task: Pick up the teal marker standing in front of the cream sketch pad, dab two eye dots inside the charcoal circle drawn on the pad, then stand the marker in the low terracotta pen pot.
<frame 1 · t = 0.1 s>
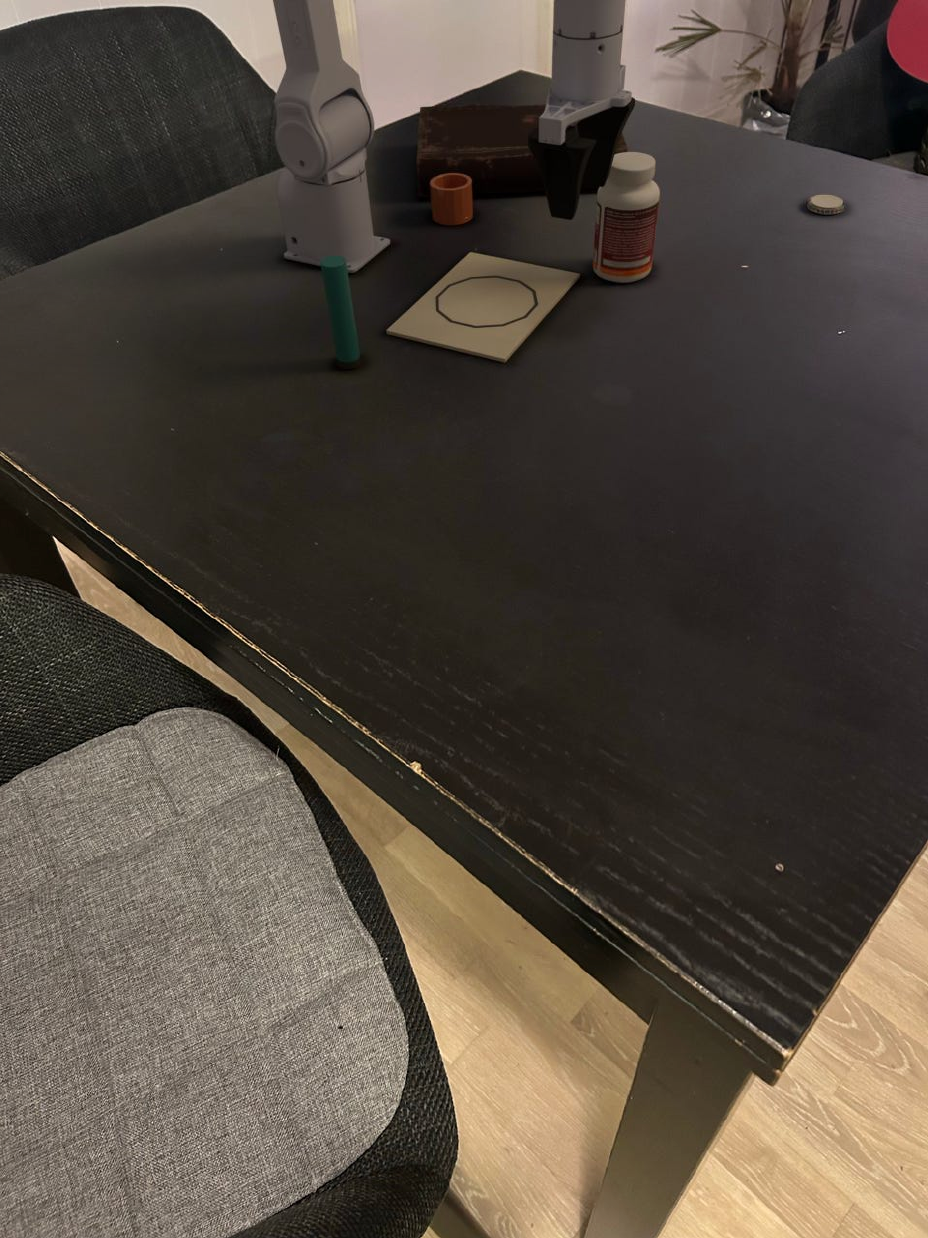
hand: (578, 200, 81), 10 cm above the table, tool pointing down, fingers open, 7 cm apart
marker: (349, 363, 83), on the table
beige bottle cap: (824, 208, 101), on the table
sketch pad: (486, 304, 89), on the table
pen cup: (452, 216, 103), on the table
pill bottle: (621, 272, 93), on the table
diary: (518, 168, 113), on the table
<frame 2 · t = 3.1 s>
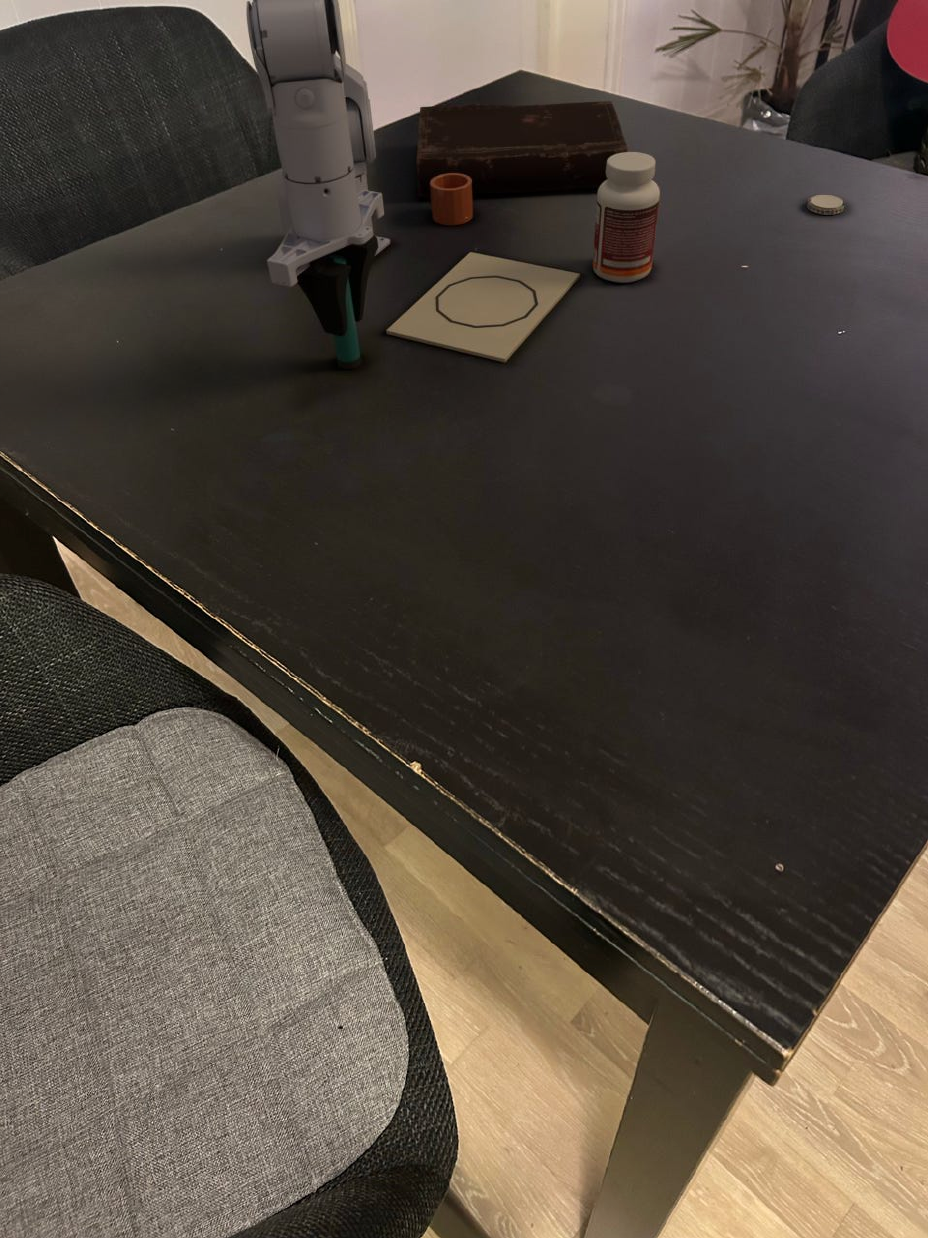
hand: (343, 325, 80), 4 cm above the table, tool pointing down, fingers closed on marker, 2 cm apart
marker: (349, 363, 83), on the table, touching gripper
everything else where it was.
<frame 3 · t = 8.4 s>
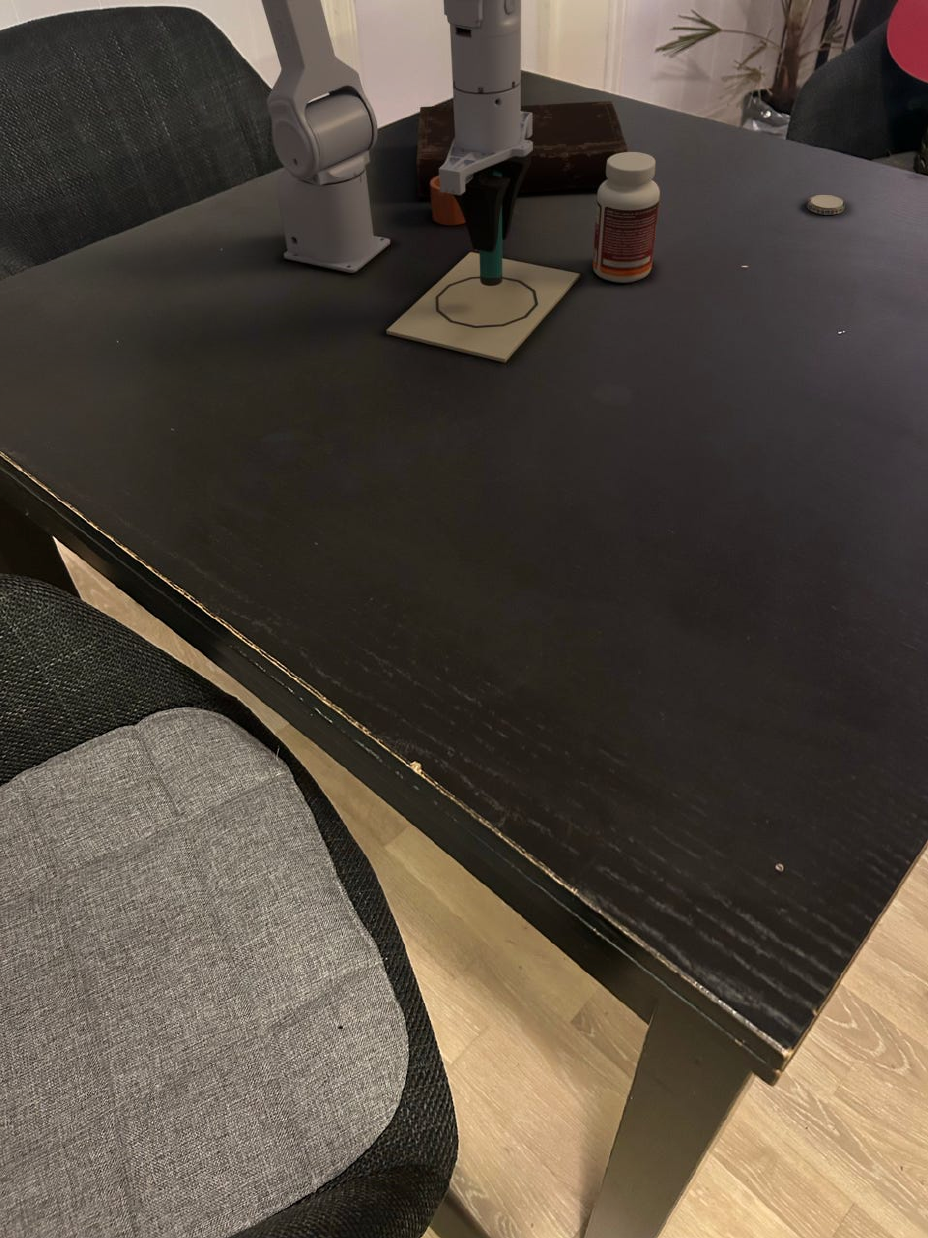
hand: (490, 242, 83), 7 cm above the table, tool pointing down, fingers closed on marker, 2 cm apart
marker: (491, 280, 86), point 3 cm above the table, touching gripper
everything else where it was.
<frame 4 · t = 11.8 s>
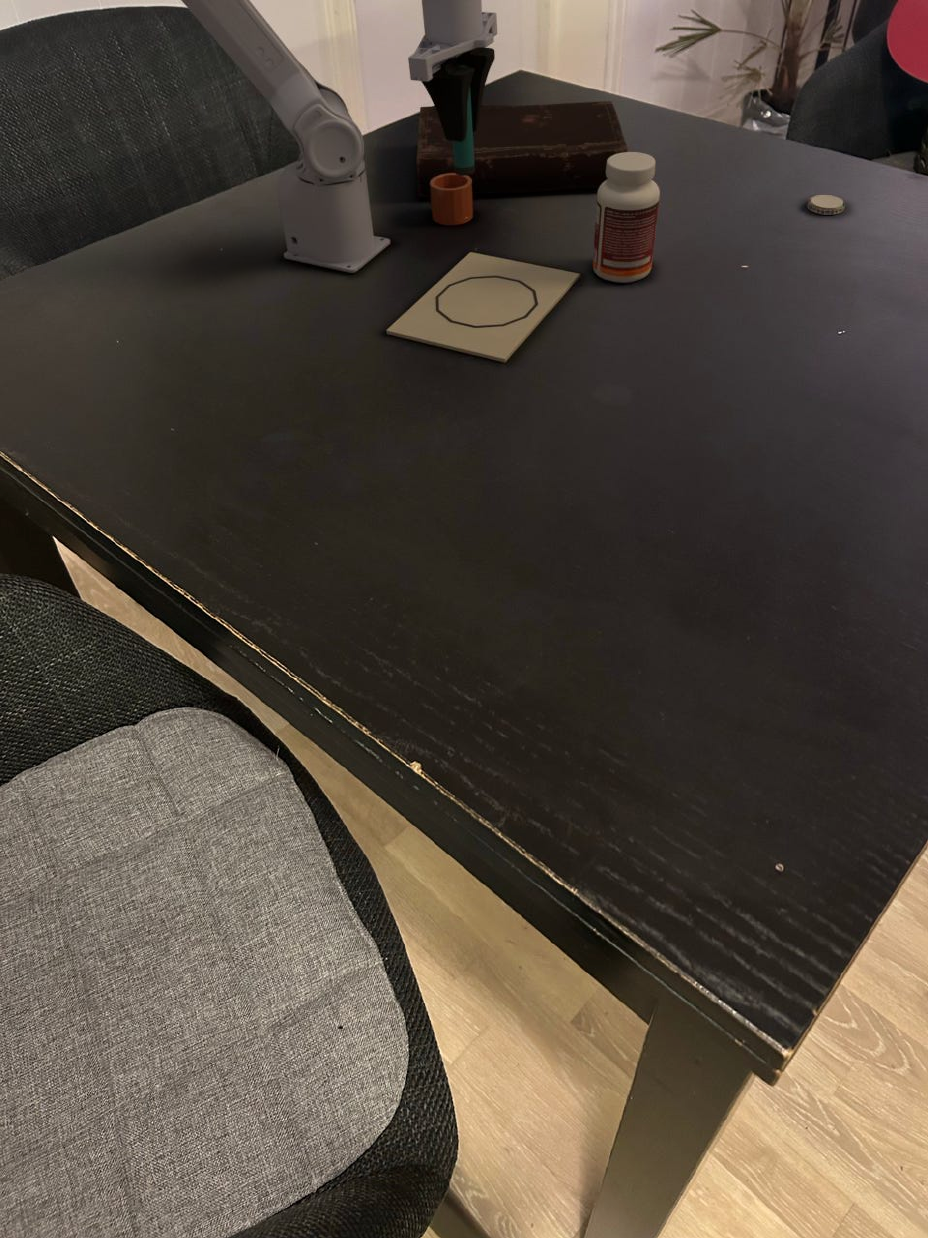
hand: (461, 134, 93), 10 cm above the table, tool pointing down, fingers closed on marker, 2 cm apart
marker: (464, 171, 96), point 7 cm above the table, touching gripper
everything else where it was.
when the fingers open (4 cm above the table, at t = 14.2 s): marker stays where it is, resting on pen cup.
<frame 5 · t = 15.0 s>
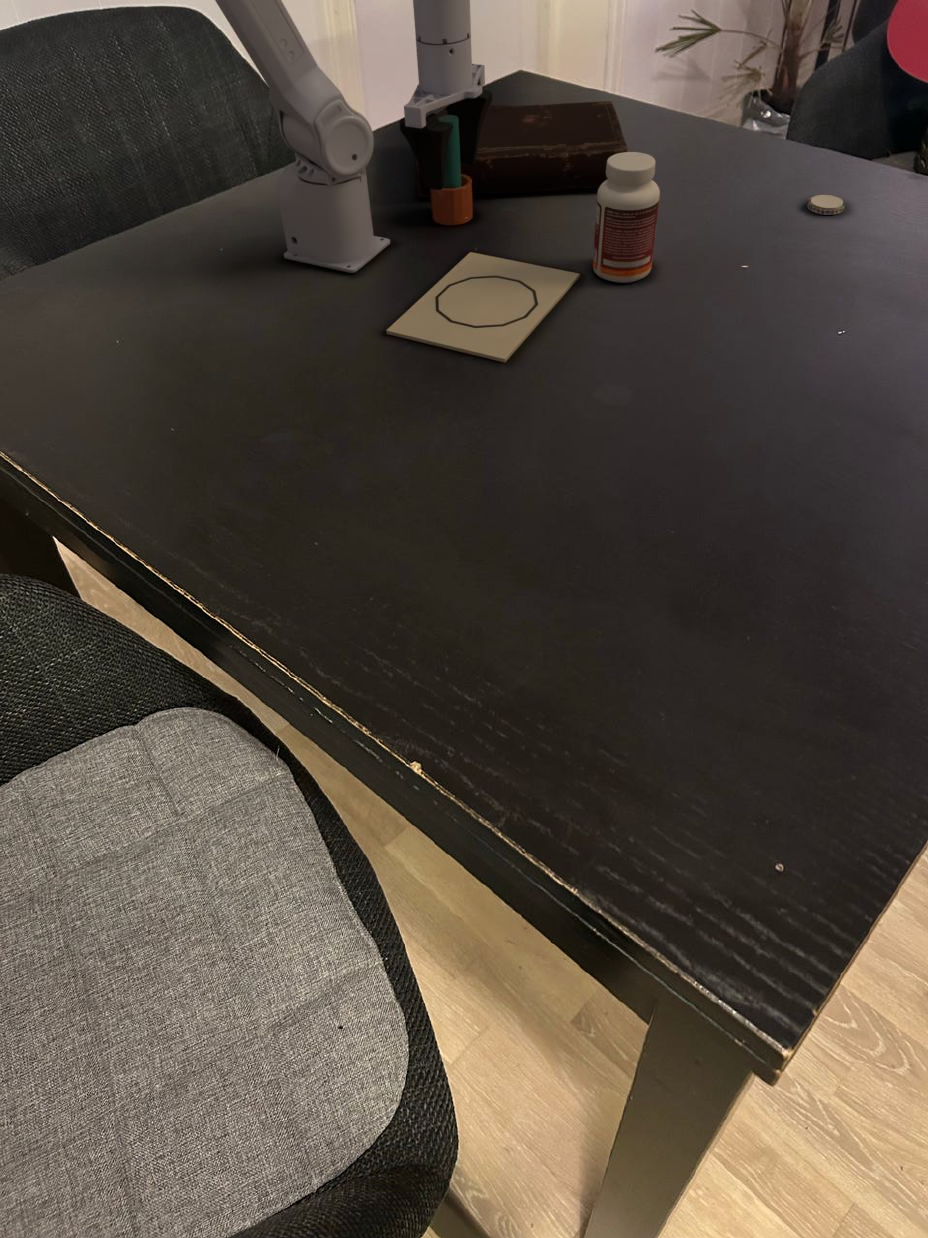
hand: (450, 174, 100), 5 cm above the table, tool pointing down, fingers open, 7 cm apart
marker: (453, 211, 103), point 1 cm above the table, touching pen cup
everything else where it was.
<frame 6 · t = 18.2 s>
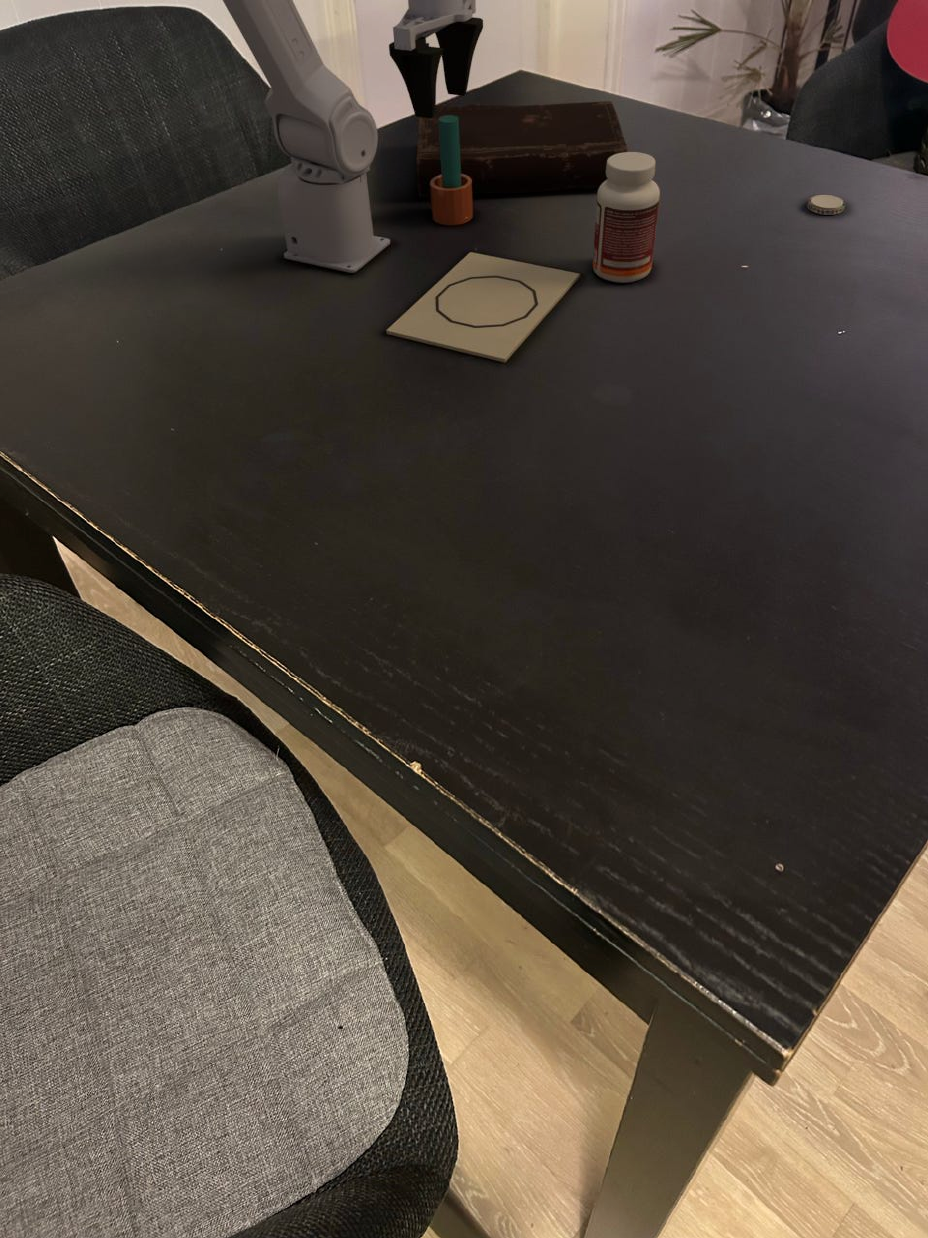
hand: (441, 104, 99), 10 cm above the table, tool pointing down, fingers open, 7 cm apart
nothing on the table moved.
at the end: marker 0.1 cm off-centre in the pen cup, point 0.6 cm above the pen cup's base; the gripper is holding nothing; marker moved 32.6 cm from its start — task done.
